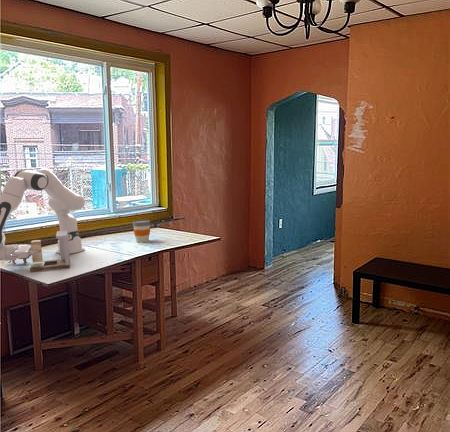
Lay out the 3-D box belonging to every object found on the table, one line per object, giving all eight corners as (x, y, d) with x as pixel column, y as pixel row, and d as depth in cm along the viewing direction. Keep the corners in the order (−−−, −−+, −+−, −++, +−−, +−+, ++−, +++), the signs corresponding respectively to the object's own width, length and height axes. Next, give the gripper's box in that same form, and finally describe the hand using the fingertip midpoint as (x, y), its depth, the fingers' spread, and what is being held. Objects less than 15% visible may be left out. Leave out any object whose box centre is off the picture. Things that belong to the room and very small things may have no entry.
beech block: (33, 260, 264) (31, 240, 262) (42, 259, 265) (40, 239, 263) (32, 262, 259) (30, 242, 257) (41, 261, 260) (40, 241, 258)
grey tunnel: (59, 259, 273) (56, 231, 271) (69, 258, 275) (67, 230, 272) (58, 265, 258) (55, 236, 256) (69, 264, 260) (66, 235, 257)
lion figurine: (34, 261, 277) (33, 247, 276) (31, 263, 272) (30, 249, 271) (9, 262, 276) (8, 248, 275) (6, 265, 271) (5, 250, 269)
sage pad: (32, 263, 266) (32, 262, 265) (44, 262, 268) (44, 261, 268) (30, 267, 257) (30, 266, 257) (43, 265, 259) (43, 265, 259)
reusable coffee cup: (153, 239, 335) (152, 219, 332) (148, 243, 322) (147, 222, 320) (136, 239, 336) (135, 219, 334) (131, 243, 324) (130, 222, 321)
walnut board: (33, 265, 269) (32, 261, 269) (69, 261, 276) (69, 258, 275) (30, 272, 254) (30, 268, 254) (69, 268, 260) (69, 264, 260)
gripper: (9, 250, 247) (36, 248, 251) (14, 243, 266) (39, 241, 270) (10, 262, 248) (37, 259, 252) (15, 253, 267) (40, 251, 271)
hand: (38, 250), depth 261 cm, fingers closed on beech block, 5 cm apart
